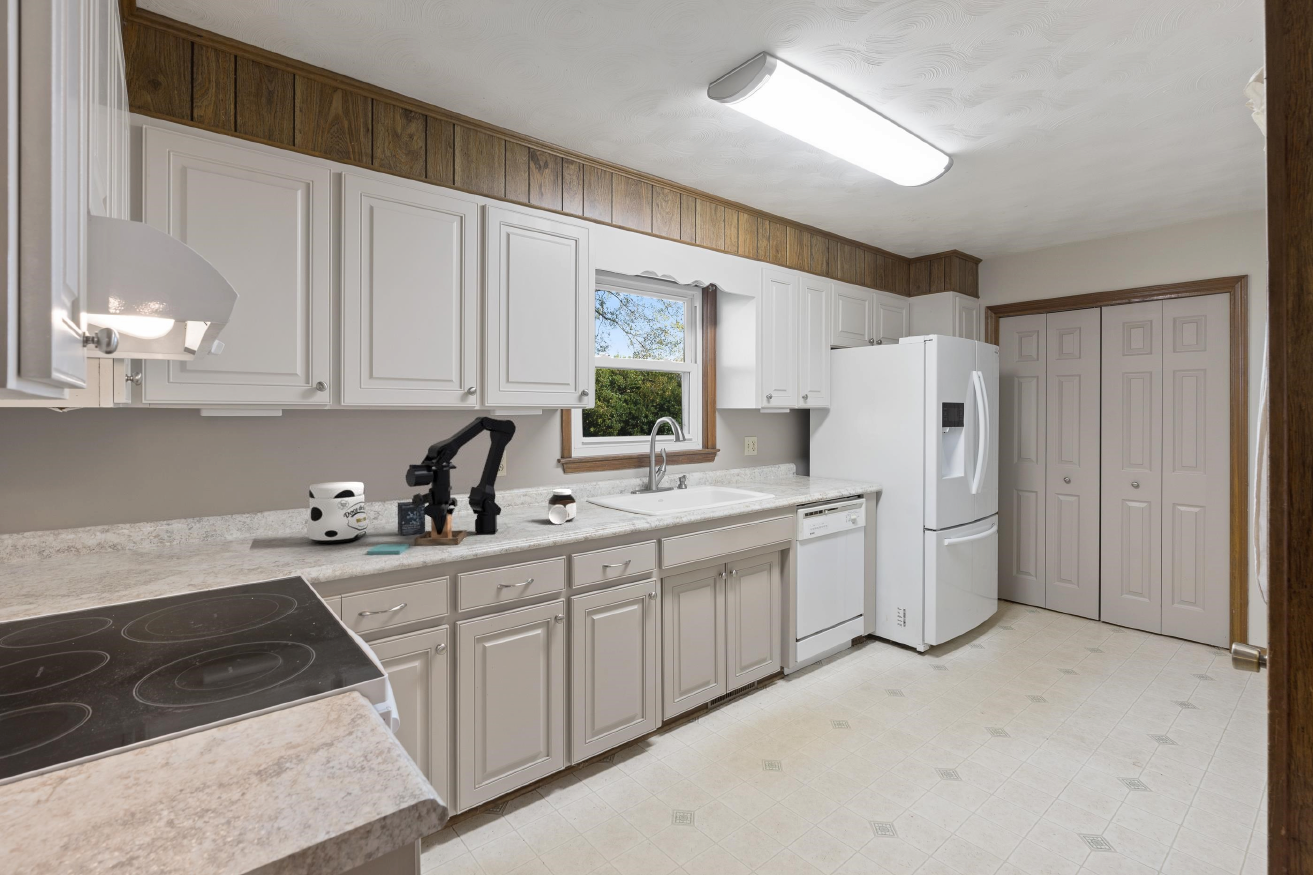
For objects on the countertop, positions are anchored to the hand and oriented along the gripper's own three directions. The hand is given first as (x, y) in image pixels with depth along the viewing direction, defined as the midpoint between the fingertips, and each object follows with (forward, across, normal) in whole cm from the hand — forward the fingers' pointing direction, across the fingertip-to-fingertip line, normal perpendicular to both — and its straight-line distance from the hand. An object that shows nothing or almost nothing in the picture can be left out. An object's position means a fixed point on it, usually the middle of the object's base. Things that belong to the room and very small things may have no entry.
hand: (441, 532), depth 195 cm
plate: (+2, +13, -12) cm, 18 cm away
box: (+3, -13, -13) cm, 19 cm away
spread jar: (+3, -30, +36) cm, 47 cm away
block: (+2, 0, 0) cm, 2 cm away
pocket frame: (+2, 0, 0) cm, 2 cm away
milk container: (+3, -4, -33) cm, 33 cm away
